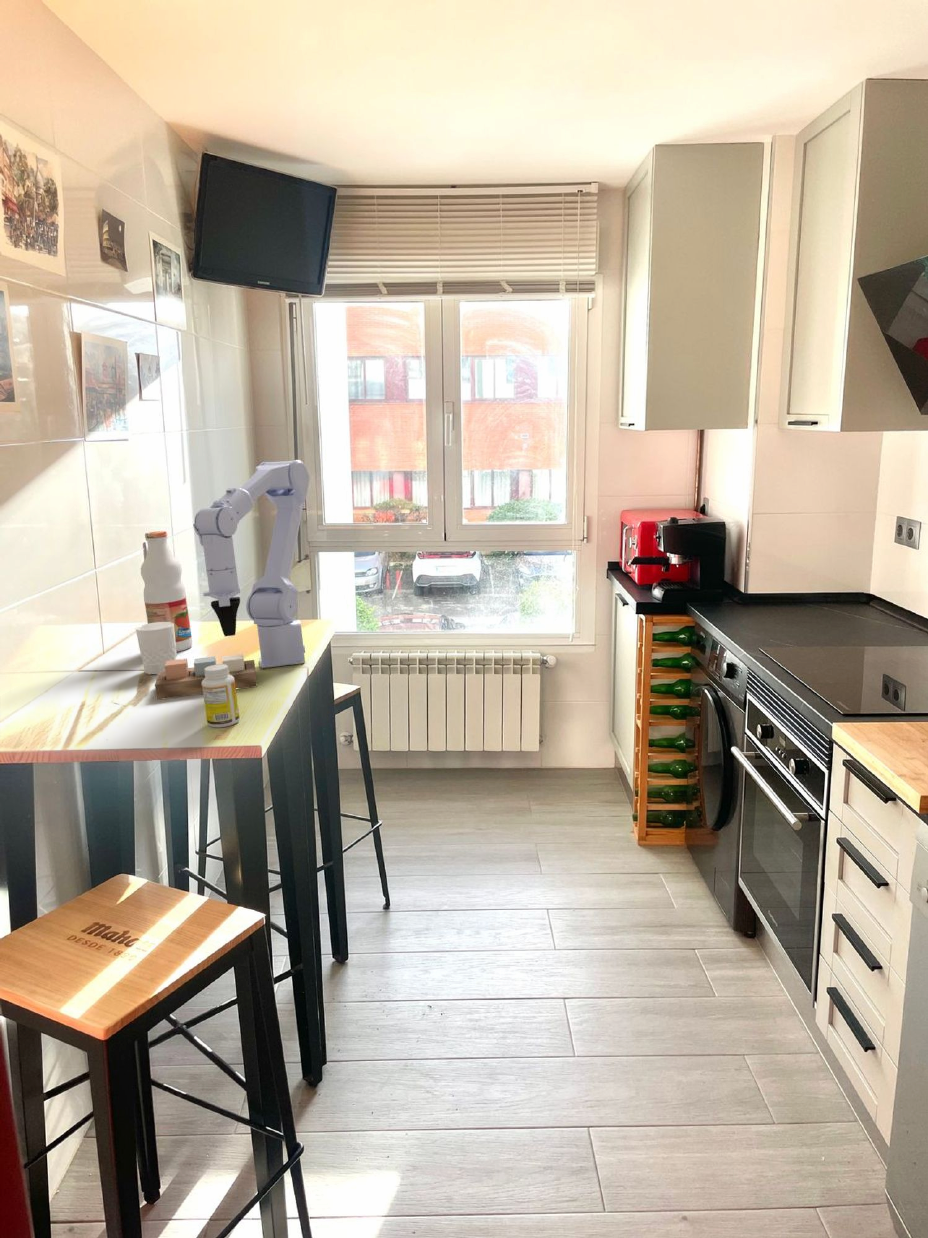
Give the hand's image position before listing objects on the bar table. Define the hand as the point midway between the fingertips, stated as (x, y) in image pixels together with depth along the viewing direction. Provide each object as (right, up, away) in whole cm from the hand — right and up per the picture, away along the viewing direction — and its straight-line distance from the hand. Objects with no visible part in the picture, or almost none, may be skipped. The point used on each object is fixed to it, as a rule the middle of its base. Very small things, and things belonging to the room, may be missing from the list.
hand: (230, 635), depth 183 cm
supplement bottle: (+5, -15, -23) cm, 28 cm away
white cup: (-19, -8, +16) cm, 26 cm away
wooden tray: (-5, -10, +1) cm, 11 cm away
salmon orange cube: (-10, -9, -1) cm, 14 cm away
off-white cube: (+1, -8, +2) cm, 9 cm away
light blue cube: (-5, -9, +1) cm, 10 cm away
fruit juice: (-23, -4, +35) cm, 42 cm away
